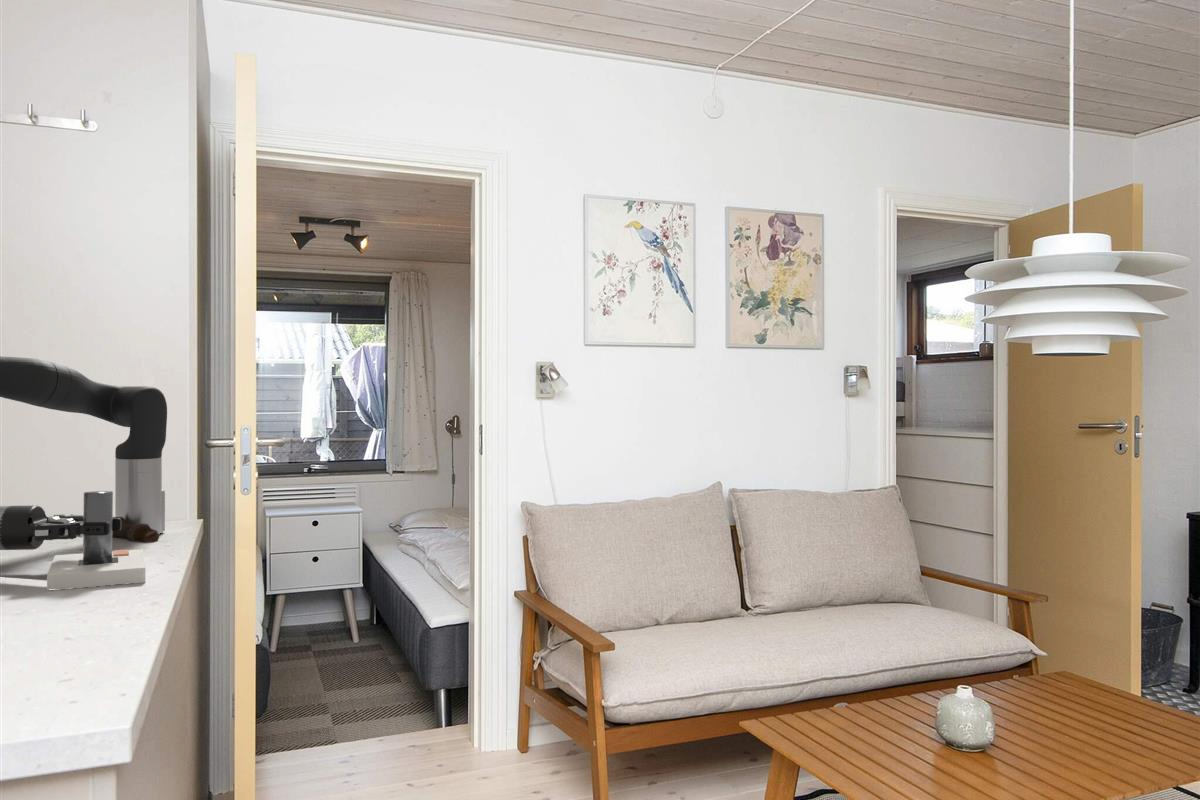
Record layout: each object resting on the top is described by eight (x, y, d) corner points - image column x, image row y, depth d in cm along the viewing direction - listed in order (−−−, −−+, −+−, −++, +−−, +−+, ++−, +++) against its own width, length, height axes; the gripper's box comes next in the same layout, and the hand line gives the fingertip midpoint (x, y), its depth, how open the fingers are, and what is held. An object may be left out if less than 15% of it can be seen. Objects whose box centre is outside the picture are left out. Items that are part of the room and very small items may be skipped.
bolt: (149, 556, 183) (108, 546, 191) (169, 541, 186) (128, 532, 194) (135, 533, 180) (95, 525, 188) (156, 518, 184) (115, 511, 192)
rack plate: (54, 569, 159) (54, 553, 159) (142, 562, 166) (142, 547, 166) (46, 591, 141) (46, 573, 141) (145, 582, 148) (145, 565, 148)
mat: (49, 557, 170) (49, 552, 170) (109, 553, 175) (109, 547, 175) (46, 566, 162) (46, 560, 162) (108, 561, 166) (108, 556, 166)
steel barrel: (98, 564, 156) (98, 490, 156) (118, 565, 155) (118, 491, 155) (76, 568, 152) (77, 493, 152) (97, 570, 151) (98, 494, 151)
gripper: (-14, 511, 144) (98, 510, 147) (28, 501, 158) (131, 500, 161) (-15, 557, 144) (98, 555, 147) (28, 542, 158) (130, 541, 161)
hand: (114, 526), depth 154 cm, fingers closed on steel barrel, 4 cm apart
